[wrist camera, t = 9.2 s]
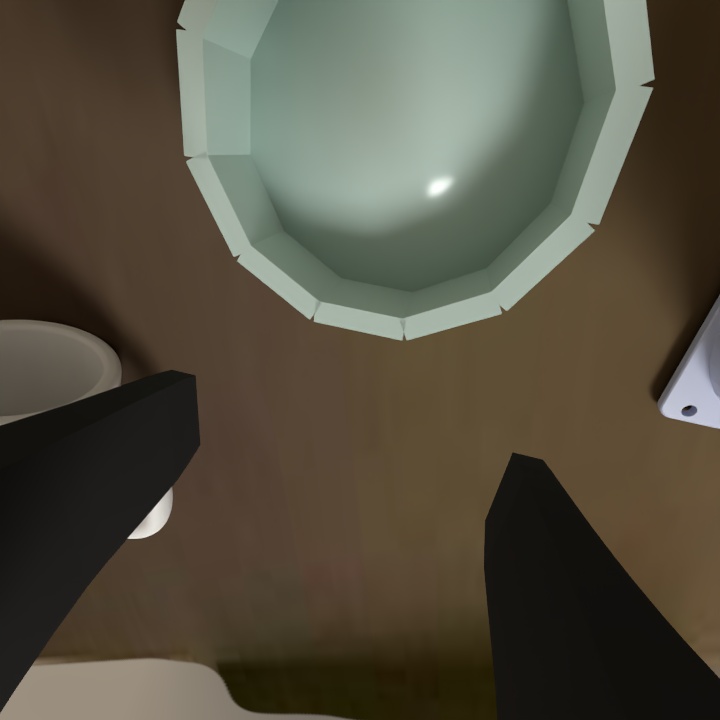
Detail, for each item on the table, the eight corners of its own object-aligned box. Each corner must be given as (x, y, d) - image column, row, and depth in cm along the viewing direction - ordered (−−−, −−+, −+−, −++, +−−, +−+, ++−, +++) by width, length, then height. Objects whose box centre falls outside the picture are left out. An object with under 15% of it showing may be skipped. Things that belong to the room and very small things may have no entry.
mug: (34, 434, 27) (-116, 533, 20) (22, 301, 22) (-181, 370, 15) (199, 508, 26) (106, 635, 20) (226, 390, 22) (113, 502, 15)
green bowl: (683, -109, 11) (772, -213, 8) (526, 330, 17) (541, 370, 14) (233, -137, 12) (158, -232, 9) (238, 271, 18) (193, 295, 15)
